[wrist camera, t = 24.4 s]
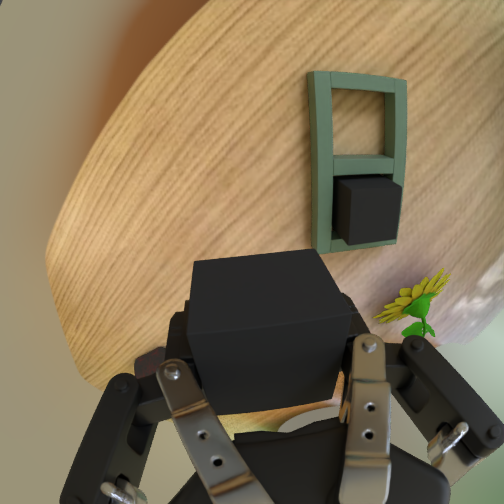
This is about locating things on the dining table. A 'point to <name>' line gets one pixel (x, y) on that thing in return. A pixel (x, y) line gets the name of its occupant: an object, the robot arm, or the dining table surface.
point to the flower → (415, 304)
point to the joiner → (331, 164)
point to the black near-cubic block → (365, 208)
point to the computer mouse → (150, 363)
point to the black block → (266, 330)
